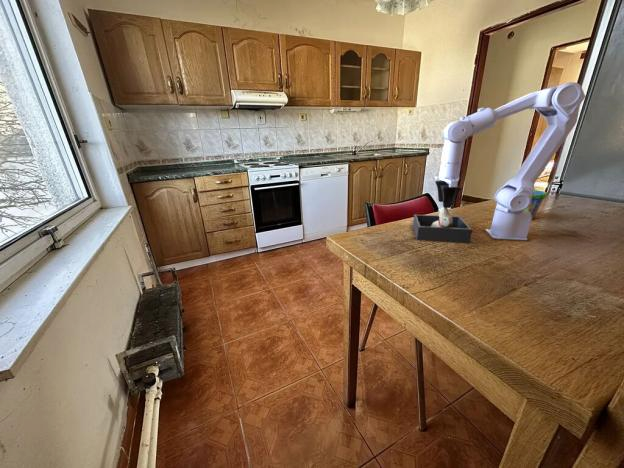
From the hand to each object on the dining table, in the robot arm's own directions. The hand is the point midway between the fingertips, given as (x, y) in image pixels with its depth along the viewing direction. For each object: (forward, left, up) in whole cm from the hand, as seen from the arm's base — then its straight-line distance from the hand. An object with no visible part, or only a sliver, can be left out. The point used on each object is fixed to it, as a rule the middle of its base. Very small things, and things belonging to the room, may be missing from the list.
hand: (444, 204), depth 86 cm
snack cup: (-34, -24, -10) cm, 43 cm away
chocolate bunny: (+1, +3, -10) cm, 10 cm away
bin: (+1, +1, -10) cm, 10 cm away
